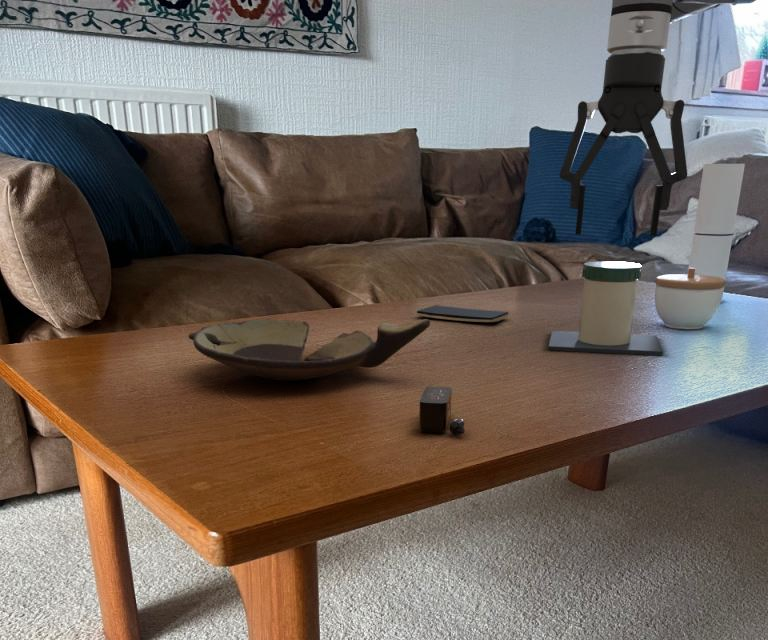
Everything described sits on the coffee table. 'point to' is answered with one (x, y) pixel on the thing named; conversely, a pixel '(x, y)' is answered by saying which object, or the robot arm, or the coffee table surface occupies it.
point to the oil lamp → (298, 348)
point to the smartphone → (462, 314)
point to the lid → (612, 271)
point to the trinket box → (687, 299)
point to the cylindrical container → (716, 219)
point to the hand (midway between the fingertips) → (615, 234)
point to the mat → (636, 346)
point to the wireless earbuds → (438, 411)
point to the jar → (607, 312)
